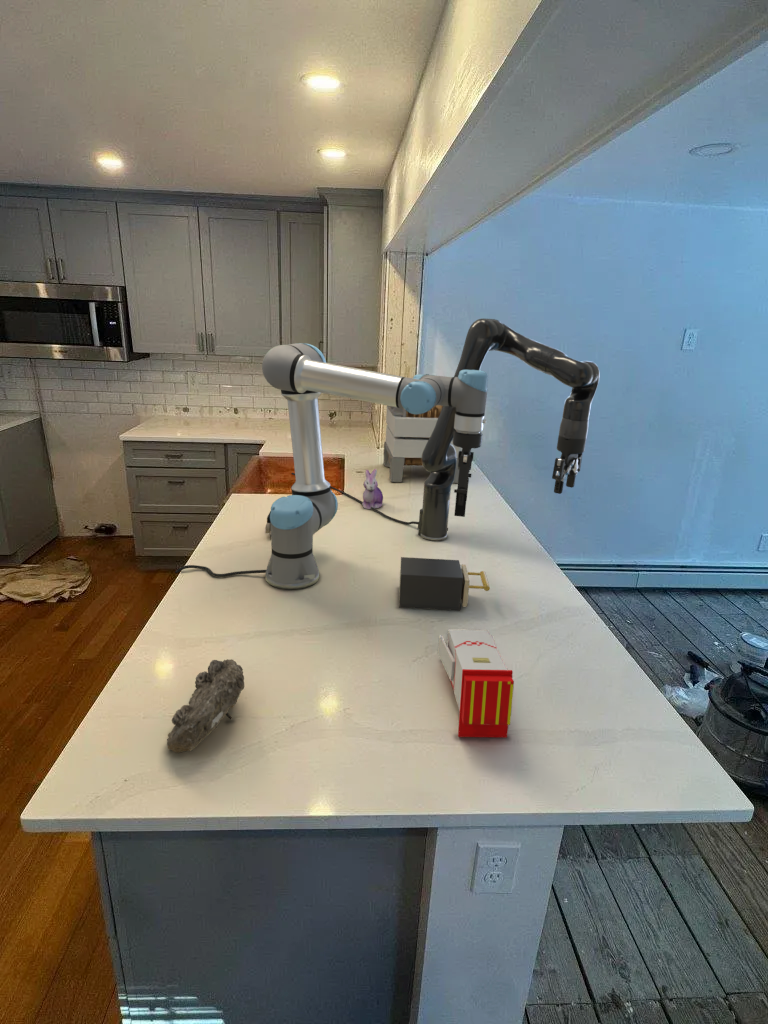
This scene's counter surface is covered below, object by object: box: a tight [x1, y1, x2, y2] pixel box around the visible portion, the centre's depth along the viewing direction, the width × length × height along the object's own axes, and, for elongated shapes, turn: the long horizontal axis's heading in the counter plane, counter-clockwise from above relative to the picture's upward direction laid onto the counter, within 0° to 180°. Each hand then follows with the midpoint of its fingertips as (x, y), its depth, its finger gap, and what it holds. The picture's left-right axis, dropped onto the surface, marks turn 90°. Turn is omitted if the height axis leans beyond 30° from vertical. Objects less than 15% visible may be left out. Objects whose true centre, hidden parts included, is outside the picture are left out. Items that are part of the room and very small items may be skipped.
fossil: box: [166, 658, 245, 754], centre depth 106 cm, size 22×10×15 cm
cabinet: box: [398, 556, 463, 612], centre depth 154 cm, size 16×11×10 cm
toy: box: [437, 628, 515, 738], centre depth 117 cm, size 12×13×30 cm
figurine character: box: [265, 510, 271, 538], centre depth 195 cm, size 7×8×15 cm
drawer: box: [460, 564, 491, 608], centre depth 154 cm, size 20×10×8 cm, turn 88°
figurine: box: [361, 468, 384, 510], centre depth 224 cm, size 9×10×15 cm
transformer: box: [383, 405, 462, 484], centre depth 268 cm, size 34×33×41 cm
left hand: (460, 507), depth 155 cm, fingers open, 13 cm apart
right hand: (563, 489), depth 164 cm, fingers open, 8 cm apart
